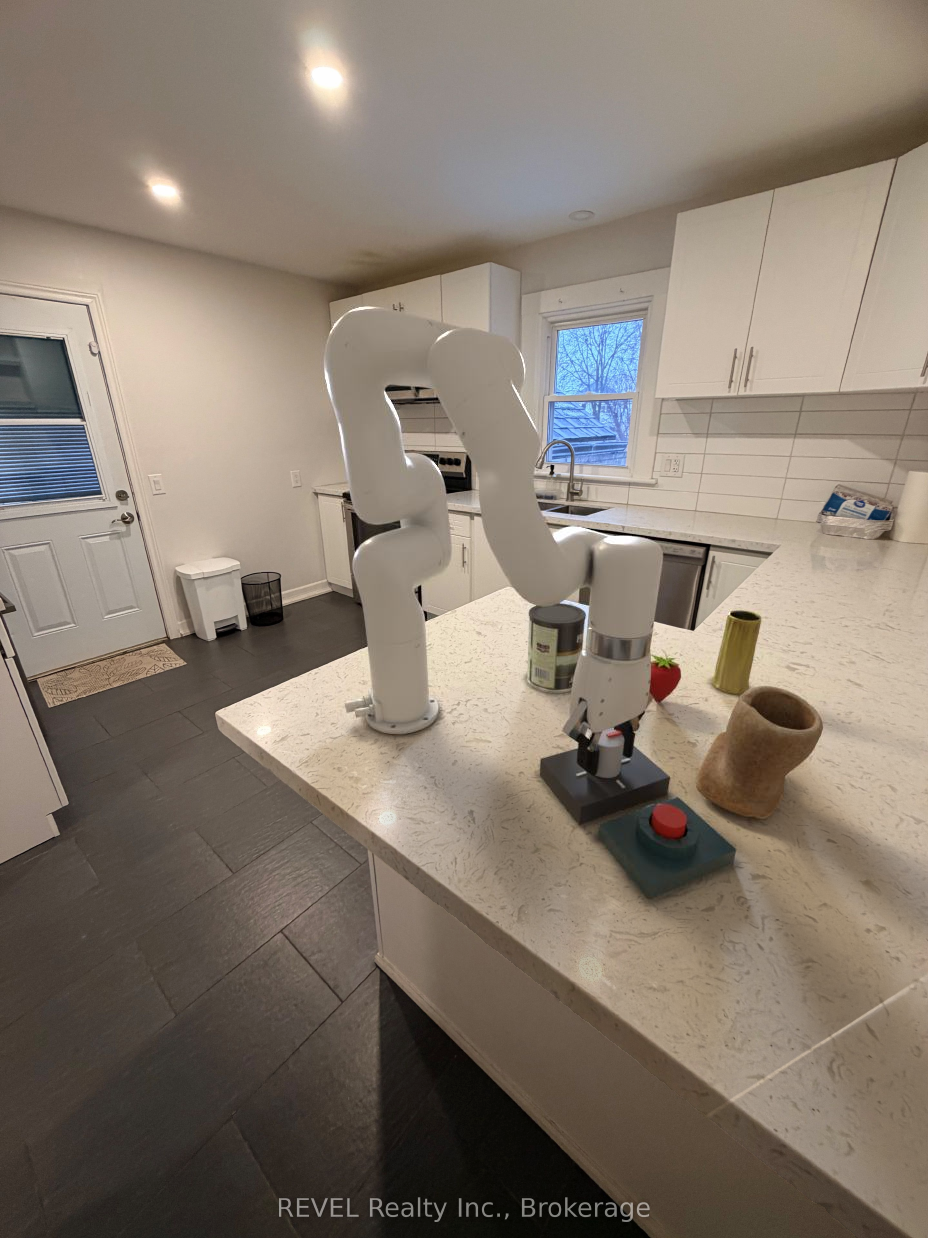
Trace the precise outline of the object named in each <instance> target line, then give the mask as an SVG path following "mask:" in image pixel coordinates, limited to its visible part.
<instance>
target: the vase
mask: <svg viewBox="0 0 928 1238" xmlns="http://www.w3.org/2000/svg"><path fill="white" fill-rule="evenodd" d="M762 619H763V618H762V616H761V615H759V613H756V612H753V611H749V610H742V609H741V610H740V609H739V610H731V611H729V612H728V613H727V617H726V621H725V625H724V630H723V636H722V640H721V644H720V647H719V651H718V656H717V660H716V662H715V663H716V664H715V667H714V668H715V669H714V675H713V677H712V679H711V684H712V686H713V687H714V688H716V689H717V690H719V691H721V692H724V693H727V694H732V695H742V694H743V693H744V692H745V691H746V690H748V689H749V687H750V686H749V683H750V676H751V671H752V667H753V663H754V658H755V653H756V647H757V642H758V638H759V633H760V630H761V624H762Z"/></svg>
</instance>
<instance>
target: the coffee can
mask: <svg viewBox="0 0 928 1238" xmlns="http://www.w3.org/2000/svg"><path fill="white" fill-rule="evenodd" d="M586 619H587V613H586V612H585V610H583V609H582V608H580V607H578V606H576V605H573V604H568V603H563V602H561V603H559V604H556V605H553V606H544V607H543V606H537V605H534V606H532V607H530V609H528V644H527V645H528V647H527V674H526V681H527V683H528V684H529V685H530V686H531V687H532V688H534V689H536V690H538V691H541V692H545V693H550V694H551V693H552V694H563V693H569V692H571V690H572V684H573V678H574V674H575V670H576V666H577V662H578V659H579V656H580V653H581V651H582V650H583V648H584V647H583V645H584V633H585V631H584V630H585V622H586Z"/></svg>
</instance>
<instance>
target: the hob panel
mask: <svg viewBox="0 0 928 1238" xmlns="http://www.w3.org/2000/svg"><path fill="white" fill-rule="evenodd" d="M577 752H578V747H576V748H574V749H569V750H566V751H562V752H560V753H555V754H552V755H549V756H545V757H542V758H540V760H539V777H540V778H541V779H542V781H543V782H544V783H545V784H546V786H547V787H548V788H549V789H550V791H551V792H552V793H553V794H554V796H555V797H556V798H557V799H558V800H559V802H560V804H562V806H563V807H564V808H565V809H566V811H567V812H568V813H569V814H570V815H571V817H572V819H574V821H575V822H576V823H577V824H578V826H580V825H583V824H587V823H589V822H592V821H595V820H598V819H602V818H604V817H606V816H610V815H613V814H615V813H618V812H622V811H624V810H627V809H630V808H632V807H635V806H638V805H642V804H644V803H647V802H650V801H653V800H656V799H658V798H662V797H664V796H667V795H668V794H669V788H670V781H671V776H670V775H668V773H666V772H665V771H664V770H663V769H662V768H660V766H658V765H657V764H656V763H655V762H653V761H652V760H651V759H650V758H649V756H647V755H646V754H645V753H644V752H642V751H641V750H640V749H638V747H636V746H635V745H634V747H633V754H632V757H630V758H627V757H625V756H624V755H622V762H621V770H620V773H619V774H618V775H617V776H615V777H612V778H603V777H599V776H596V775H594V776H592V775H591V774H589V773H588V772H587V771H586V770H584V769H583V768H582V767H580V766H579V765H578V764H577Z"/></svg>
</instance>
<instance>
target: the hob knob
mask: <svg viewBox="0 0 928 1238" xmlns="http://www.w3.org/2000/svg"><path fill="white" fill-rule="evenodd" d="M591 735H592V732H591V731H590V733H589V738H590V737H591ZM623 747H624V737H623V735H622V732H621V731H620V730H618V731H616V730H614V728H610V729H607V730H605V731H602V734H601V737H600V739H599V742H598V744H597V747H596V748H597V749H599V761H598V770H597V774H596V776H599V777H603V778H612V777H615V776H617V775H618V774H619V773H620V770H621V762H622V755H623Z"/></svg>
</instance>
